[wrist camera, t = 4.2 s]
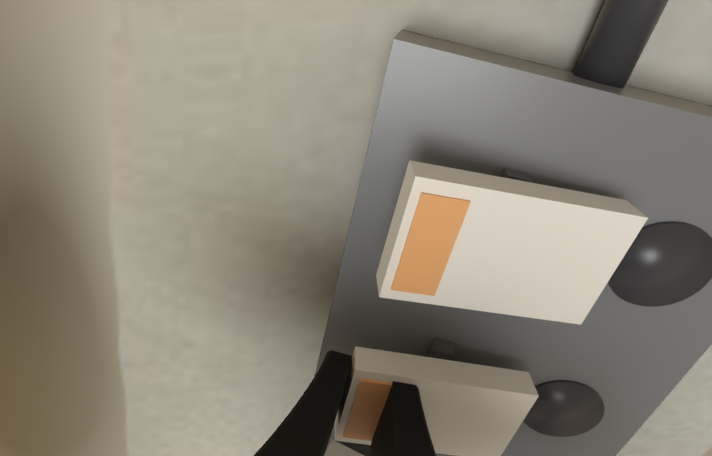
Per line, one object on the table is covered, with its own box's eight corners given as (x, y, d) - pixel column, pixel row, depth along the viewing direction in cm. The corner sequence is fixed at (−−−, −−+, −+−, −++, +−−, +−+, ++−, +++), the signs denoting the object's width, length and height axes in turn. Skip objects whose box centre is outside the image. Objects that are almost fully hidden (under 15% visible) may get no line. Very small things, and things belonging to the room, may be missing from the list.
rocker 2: (490, 436, 14) (498, 463, 13) (335, 416, 13) (333, 442, 12) (528, 372, 12) (540, 398, 12) (355, 346, 12) (355, 371, 11)
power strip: (512, 502, 20) (524, 579, 17) (302, 441, 20) (283, 508, 18) (1044, -234, 8) (1356, -350, 5) (492, -350, 8) (519, -511, 6)
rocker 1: (565, 302, 11) (582, 326, 10) (376, 275, 10) (379, 299, 10) (626, 200, 10) (650, 219, 9) (409, 159, 9) (416, 178, 8)
